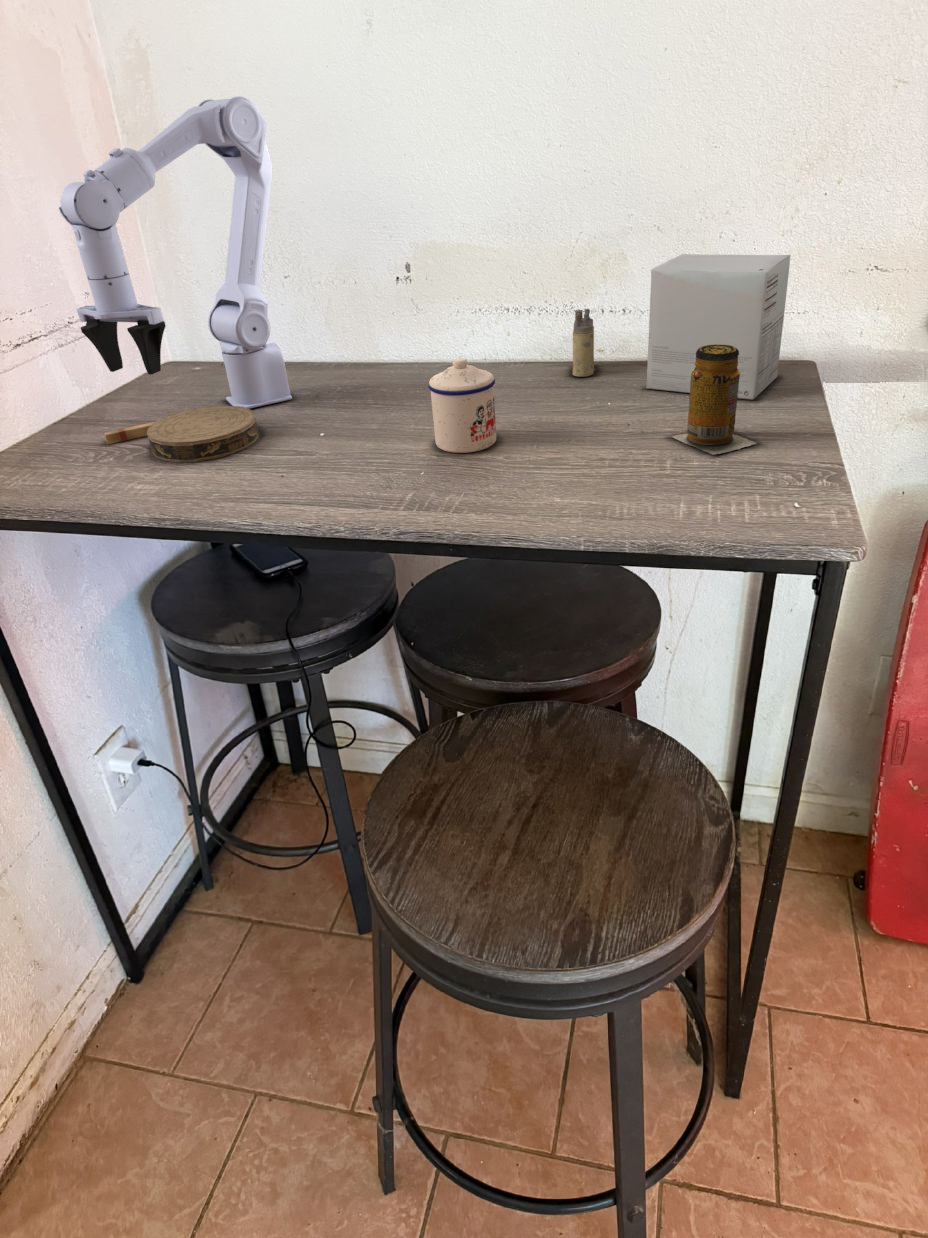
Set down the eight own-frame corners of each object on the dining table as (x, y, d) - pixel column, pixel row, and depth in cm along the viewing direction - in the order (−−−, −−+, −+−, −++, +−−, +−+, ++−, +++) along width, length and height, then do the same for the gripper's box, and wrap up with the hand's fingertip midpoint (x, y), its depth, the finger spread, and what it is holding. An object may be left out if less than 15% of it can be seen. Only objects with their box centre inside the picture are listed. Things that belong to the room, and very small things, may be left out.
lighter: (574, 365, 147) (573, 305, 141) (596, 364, 146) (596, 304, 141) (572, 377, 141) (571, 316, 136) (595, 377, 140) (595, 315, 135)
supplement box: (779, 376, 133) (794, 253, 124) (754, 401, 124) (769, 271, 115) (674, 366, 142) (681, 251, 132) (643, 389, 133) (648, 267, 123)
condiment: (713, 426, 117) (721, 338, 110) (756, 444, 110) (767, 351, 104) (671, 438, 114) (676, 348, 108) (712, 457, 108) (720, 362, 101)
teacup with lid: (482, 457, 114) (476, 370, 107) (422, 451, 117) (414, 367, 111) (515, 427, 123) (512, 346, 116) (459, 422, 126) (453, 343, 120)
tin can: (180, 470, 118) (174, 450, 116) (135, 445, 128) (129, 426, 127) (278, 438, 126) (274, 419, 125) (228, 417, 137) (224, 399, 135)
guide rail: (220, 416, 137) (218, 407, 137) (222, 418, 136) (220, 409, 136) (106, 442, 131) (103, 432, 130) (108, 444, 130) (105, 435, 129)
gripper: (50, 281, 120) (80, 376, 127) (126, 282, 114) (153, 381, 122) (87, 271, 125) (114, 363, 133) (162, 271, 120) (186, 367, 127)
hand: (135, 371), depth 127 cm, fingers open, 7 cm apart
